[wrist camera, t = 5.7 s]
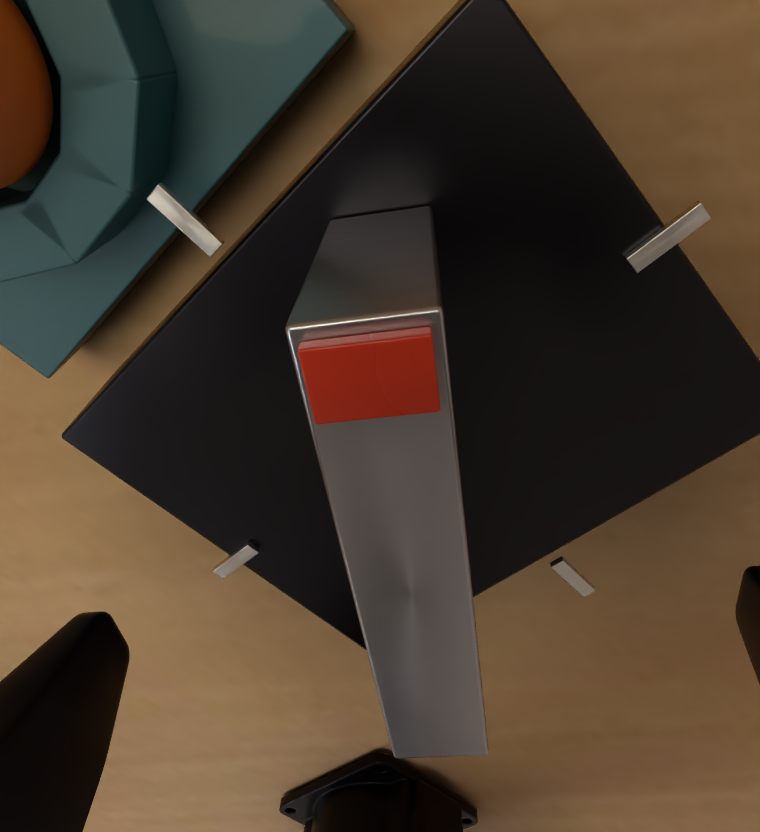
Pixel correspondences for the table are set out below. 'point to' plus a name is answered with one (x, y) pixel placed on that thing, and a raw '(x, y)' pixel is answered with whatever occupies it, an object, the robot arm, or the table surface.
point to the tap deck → (465, 330)
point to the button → (21, 96)
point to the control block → (139, 144)
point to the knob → (394, 470)
